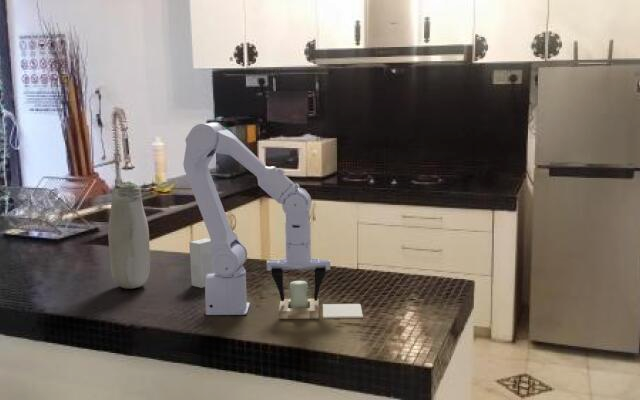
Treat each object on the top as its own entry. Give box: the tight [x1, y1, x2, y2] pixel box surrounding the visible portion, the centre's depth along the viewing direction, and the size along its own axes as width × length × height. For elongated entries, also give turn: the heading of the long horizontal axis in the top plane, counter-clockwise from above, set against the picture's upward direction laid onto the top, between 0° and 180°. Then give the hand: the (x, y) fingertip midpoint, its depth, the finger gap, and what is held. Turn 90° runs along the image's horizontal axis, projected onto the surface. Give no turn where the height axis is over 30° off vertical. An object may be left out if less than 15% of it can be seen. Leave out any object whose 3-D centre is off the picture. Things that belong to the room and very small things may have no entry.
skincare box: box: [189, 237, 215, 289], centre depth 177 cm, size 6×4×12 cm
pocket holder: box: [278, 298, 320, 320], centre depth 154 cm, size 9×9×2 cm
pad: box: [322, 303, 364, 319], centre depth 155 cm, size 9×9×1 cm
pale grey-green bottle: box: [107, 181, 151, 290], centre depth 174 cm, size 10×10×28 cm
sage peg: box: [289, 280, 309, 308], centre depth 154 cm, size 4×4×7 cm
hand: (299, 299), depth 154 cm, fingers open, 7 cm apart
